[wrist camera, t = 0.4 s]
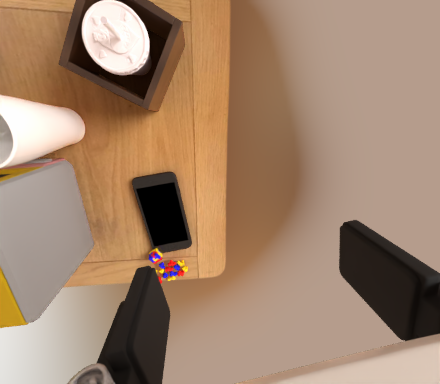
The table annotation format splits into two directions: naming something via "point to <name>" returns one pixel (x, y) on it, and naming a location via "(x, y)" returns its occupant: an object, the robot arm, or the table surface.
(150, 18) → the holder
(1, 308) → the alarm clock
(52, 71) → the table surface
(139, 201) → the smartphone
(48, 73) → the table surface
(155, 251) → the building blocks
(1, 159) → the drinking glass
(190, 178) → the table surface
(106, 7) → the smoothie
